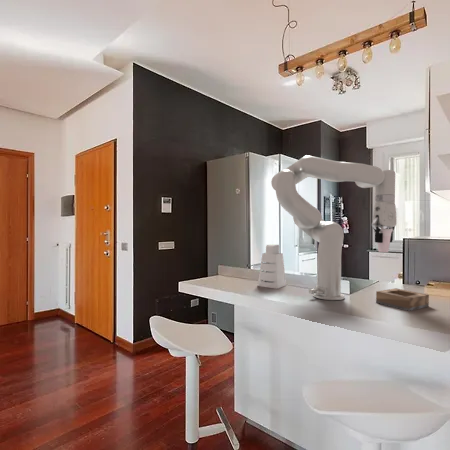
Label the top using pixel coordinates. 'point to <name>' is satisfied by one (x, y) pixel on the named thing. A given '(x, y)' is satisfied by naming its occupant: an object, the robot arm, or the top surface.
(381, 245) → the smoothie
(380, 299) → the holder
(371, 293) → the top surface
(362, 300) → the top surface
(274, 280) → the grater
